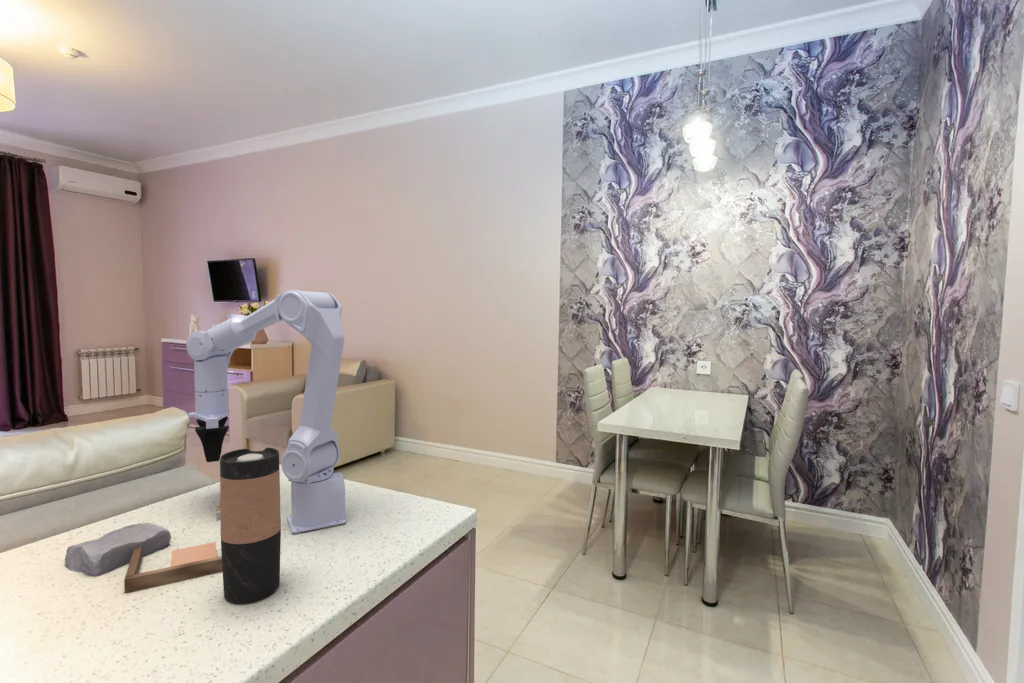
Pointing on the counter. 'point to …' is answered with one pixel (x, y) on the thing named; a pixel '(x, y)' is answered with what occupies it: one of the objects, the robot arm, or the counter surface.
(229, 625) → the counter surface
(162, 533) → the stone block
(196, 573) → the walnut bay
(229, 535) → the travel mug
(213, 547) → the terracotta tile
